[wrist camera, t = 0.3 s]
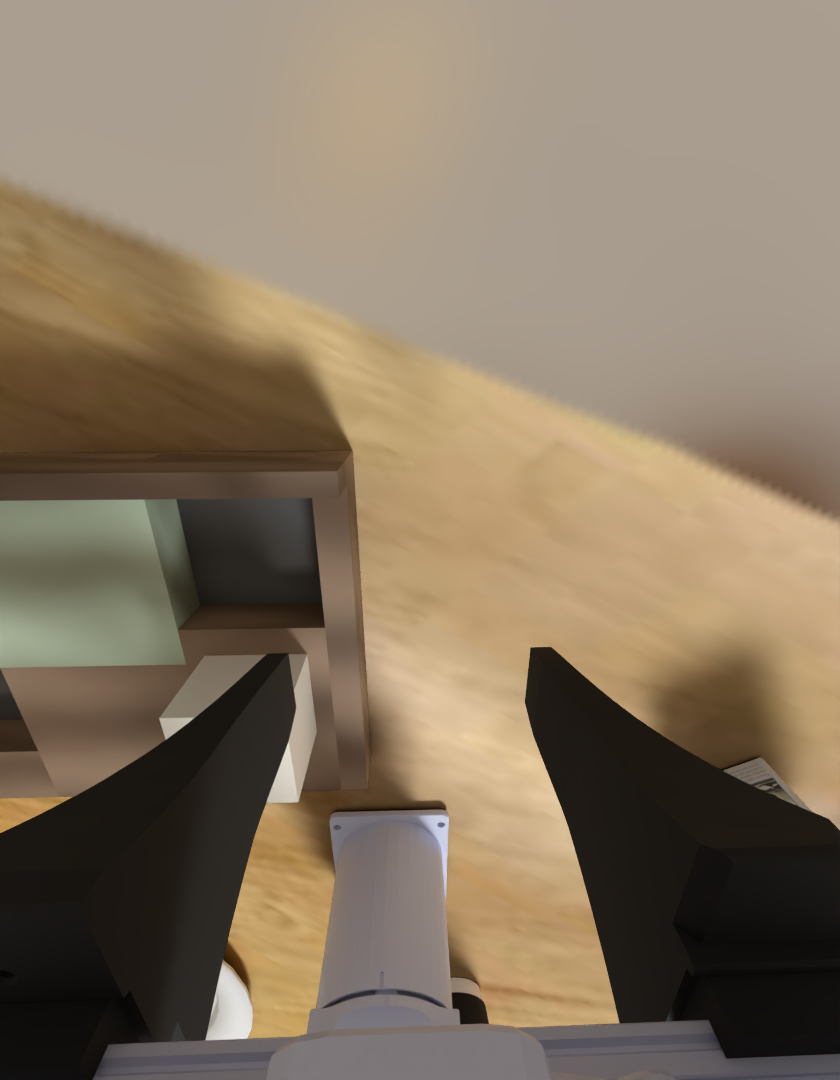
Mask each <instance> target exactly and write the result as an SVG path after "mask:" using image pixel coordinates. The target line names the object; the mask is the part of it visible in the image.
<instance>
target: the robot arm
mask: <svg viewBox="0 0 840 1080" xmlns="http://www.w3.org/2000/svg"><path fill="white" fill-rule="evenodd" d="M525 704H526V708H527V712H528V716H529V720H530V724H531V728H532V732H533V735H534V738H535V741H536V743H537V746H538V748H539V751H540V754H541V756H542V759H543V761H544V764H545V767H546V769H547V772H548V774H549V777H550V779H551V782H552V784H553V787H554V789H555V792H556V795H557V797H558V800H559V802H560V805H561V807H562V810H563V813H564V816H565V818H566V821H567V824H568V827H569V830H570V834H571V837H572V840H573V844H574V847H575V851H576V854H577V858H578V861H579V865H580V868H581V872H582V875H583V879H584V883H585V886H586V890H587V894H588V897H589V901H590V905H591V908H592V912H593V916H594V920H595V924H596V928H597V932H598V936H599V939H600V943H601V947H602V951H603V955H604V959H605V963H606V967H607V971H608V975H609V980H610V984H611V988H612V992H613V997H614V1001H615V1005H616V1009H617V1014H618V1018H619V1022H620V1024H595V1025H571V1026H546V1027H522V1028H515V1027H512V1026H502V1025H492V1024H462V1025H460V1015H459V1010H458V1009H453V1007H452V992H451V978H450V963H449V949H448V934H447V920H446V905H445V898H446V883H447V853H448V824H449V817H448V812H447V811H445V810H442V809H438V810H399V811H360V812H335V813H333V814H331V816H330V821H329V824H330V832H331V840H332V849H333V857H334V865H335V873H336V876H335V883H334V890H333V896H332V903H331V910H330V917H329V924H328V930H327V937H326V944H325V951H324V958H323V964H322V971H321V978H320V985H319V992H318V998H317V1005H316V1009H312V1010H311V1011H310V1015H309V1022H308V1028H307V1034H305V1035H300V1036H296V1037H277V1038H253V1039H228V1040H206V1036H207V1031H208V1026H209V1021H210V1017H211V1012H212V1007H213V1003H214V998H215V993H216V989H217V984H218V980H219V975H220V971H221V967H222V962H223V958H224V954H225V950H226V945H227V941H228V937H229V932H230V928H231V924H232V920H233V916H234V912H235V908H236V904H237V900H238V896H239V892H240V888H241V884H242V880H243V876H244V873H245V869H246V865H247V862H248V858H249V854H250V850H251V847H252V843H253V839H254V836H255V833H256V830H257V827H258V824H259V821H260V818H261V815H262V813H263V810H264V807H265V804H266V802H267V799H268V796H269V794H270V791H271V788H272V786H273V783H274V780H275V778H276V775H277V772H278V769H279V767H280V764H281V761H282V758H283V756H284V753H285V750H286V747H287V744H288V742H289V738H290V734H291V730H292V725H293V721H294V716H295V712H296V702H295V695H294V688H293V681H292V674H291V667H290V661H289V654H288V653H268V654H266V655H265V656H264V657H263V658H262V659H261V660H260V661H259V662H258V663H256V664H255V665H254V666H253V667H252V668H251V669H250V670H249V671H248V672H247V673H246V674H245V675H244V676H242V677H241V678H240V679H239V680H238V681H237V682H236V683H235V684H234V685H232V686H231V687H230V688H229V689H228V690H227V691H226V692H225V693H224V694H222V695H221V696H220V697H219V698H218V699H217V700H216V701H214V702H213V703H212V704H211V705H209V706H208V707H207V708H206V709H205V710H203V711H202V712H201V713H200V714H199V715H197V716H196V717H195V718H194V719H192V720H191V721H190V722H189V723H188V724H186V725H185V726H184V727H182V728H181V729H180V730H178V731H177V732H176V733H174V734H173V735H172V736H170V737H169V738H168V739H166V740H165V741H163V742H162V743H160V744H159V745H158V746H156V747H155V748H153V749H152V750H150V751H149V752H147V753H146V754H144V755H143V756H141V757H140V758H138V759H137V760H135V761H133V762H132V763H130V764H128V765H127V766H125V767H124V768H122V769H120V770H119V771H117V772H116V773H114V774H112V775H111V776H109V777H108V778H106V779H104V780H103V781H101V782H99V783H98V784H96V785H94V786H92V787H90V788H89V789H87V790H85V791H83V792H82V793H80V794H78V795H76V796H74V797H72V798H71V799H69V800H67V801H65V802H63V803H61V804H59V805H57V806H55V807H54V808H52V809H50V810H48V811H46V812H44V813H42V814H40V815H38V816H36V817H34V818H32V819H30V820H28V821H25V822H23V823H21V824H19V825H17V826H15V827H13V828H11V829H9V830H6V831H4V832H2V833H0V1080H840V830H839V829H838V828H837V827H836V826H835V825H834V824H833V823H832V822H831V821H830V820H829V819H827V818H825V817H822V816H820V815H818V814H815V813H813V812H811V811H808V810H806V809H804V808H801V807H799V806H797V805H794V804H792V803H790V802H787V801H785V800H783V799H780V798H778V797H776V796H773V795H771V794H769V793H767V792H765V791H763V790H760V789H758V788H756V787H754V786H752V785H750V784H748V783H746V782H744V781H742V780H740V779H738V778H736V777H734V776H732V775H730V774H728V773H726V772H724V771H722V770H720V769H719V768H717V767H715V766H713V765H711V764H709V763H708V762H706V761H704V760H702V759H700V758H699V757H697V756H695V755H693V754H692V753H690V752H688V751H686V750H685V749H683V748H681V747H680V746H678V745H676V744H675V743H673V742H671V741H670V740H668V739H667V738H665V737H664V736H662V735H661V734H659V733H658V732H656V731H655V730H653V729H652V728H650V727H649V726H647V725H646V724H644V723H643V722H641V721H640V720H638V719H637V718H636V717H634V716H633V715H632V714H630V713H629V712H628V711H626V710H625V709H624V708H622V707H621V706H620V705H618V704H617V703H616V702H614V701H613V700H612V699H611V698H609V697H608V696H607V695H606V694H604V693H603V692H602V691H601V690H600V689H598V688H597V687H596V686H595V685H594V684H592V683H591V682H590V681H589V680H588V679H587V678H585V677H584V676H583V675H582V674H581V673H580V672H579V671H578V670H576V669H575V668H574V667H573V666H572V665H571V664H570V663H569V662H567V661H566V660H565V659H564V658H563V657H562V656H561V655H560V654H558V653H557V652H556V651H555V650H554V649H553V648H551V647H534V648H531V650H530V659H529V669H528V678H527V688H526V698H525Z"/></svg>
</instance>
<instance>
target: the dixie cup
mask: <svg viewBox="0 0 840 1080" xmlns="http://www.w3.org/2000/svg"><path fill="white" fill-rule="evenodd" d="M451 992H452V1007H453V1009H458V1010H459V1015H460V1025H462V1024H489V1022H488V1017H487V1012H486V1007H485V1004H484V1002H483V1001H482V999H481V994H480V989H479V986H478V985H477V984H476V983H475V982H473V981H471V980H469V979H465V978H451Z"/></svg>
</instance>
